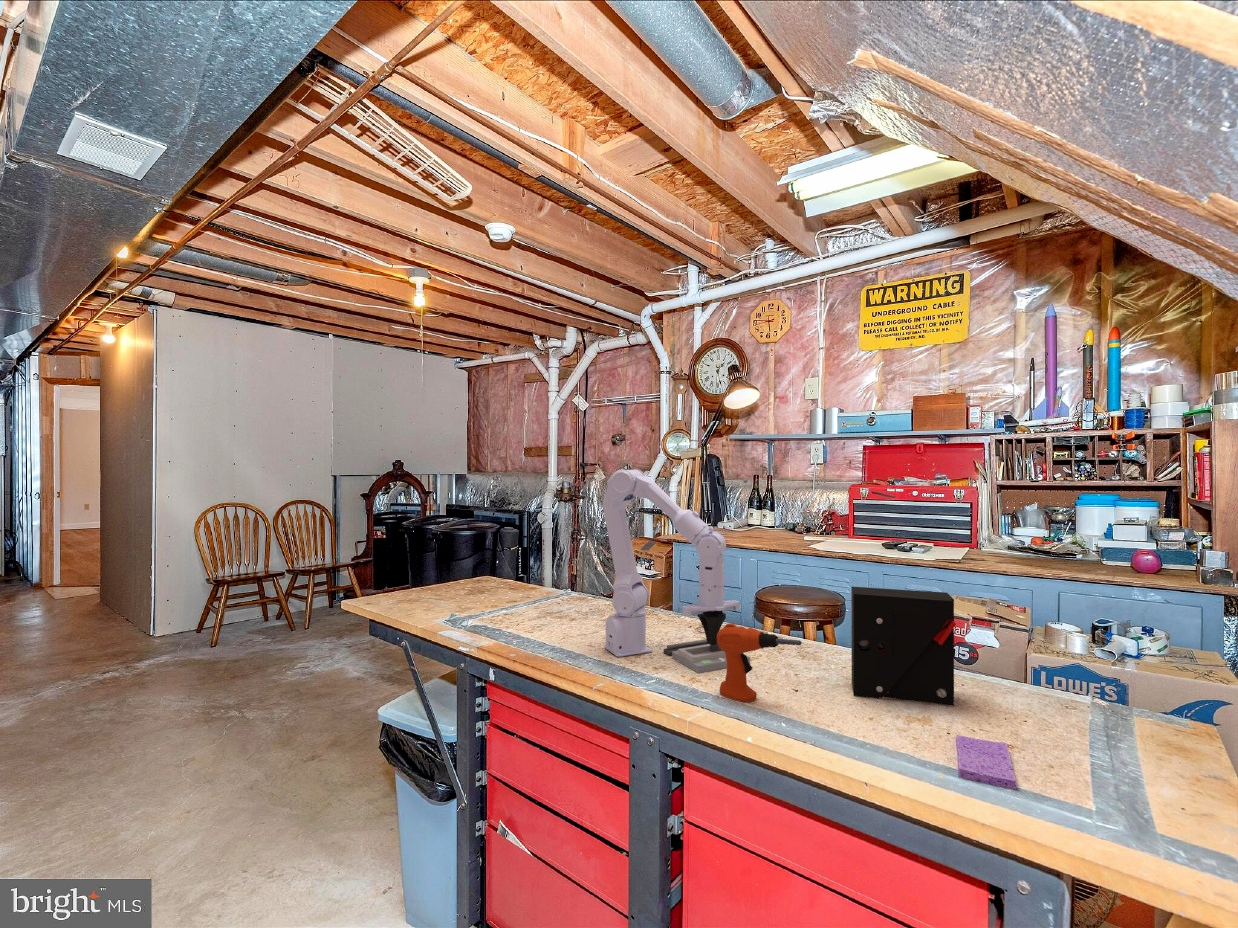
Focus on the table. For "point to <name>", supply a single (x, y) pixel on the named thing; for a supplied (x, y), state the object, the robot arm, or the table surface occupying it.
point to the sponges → (985, 762)
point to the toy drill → (743, 657)
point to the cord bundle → (683, 646)
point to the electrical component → (903, 645)
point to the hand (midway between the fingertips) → (711, 643)
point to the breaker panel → (701, 658)
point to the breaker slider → (715, 647)
